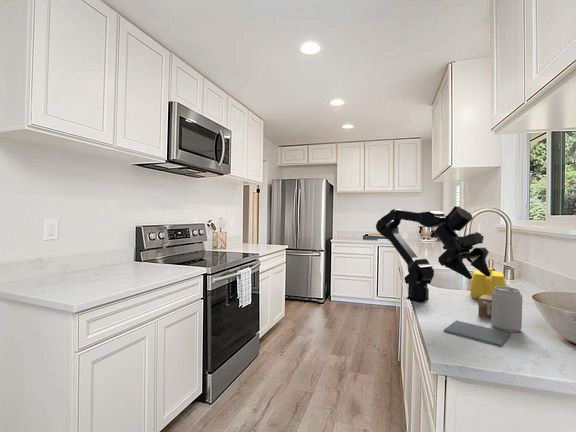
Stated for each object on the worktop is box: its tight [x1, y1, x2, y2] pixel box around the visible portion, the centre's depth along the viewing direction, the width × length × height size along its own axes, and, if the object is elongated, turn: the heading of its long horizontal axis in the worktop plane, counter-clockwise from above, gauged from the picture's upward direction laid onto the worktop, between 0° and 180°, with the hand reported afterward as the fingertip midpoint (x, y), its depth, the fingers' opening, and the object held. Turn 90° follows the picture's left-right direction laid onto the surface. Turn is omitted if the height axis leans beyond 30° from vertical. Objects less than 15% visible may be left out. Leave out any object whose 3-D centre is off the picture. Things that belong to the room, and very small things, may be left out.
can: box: [490, 286, 523, 333], centre depth 95 cm, size 8×8×12 cm
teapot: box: [469, 267, 507, 300], centre depth 130 cm, size 20×12×12 cm, turn 149°
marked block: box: [477, 295, 492, 319], centre depth 106 cm, size 6×6×6 cm
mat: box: [443, 319, 511, 348], centre depth 91 cm, size 14×11×1 cm
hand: (480, 277), depth 102 cm, fingers open, 9 cm apart
